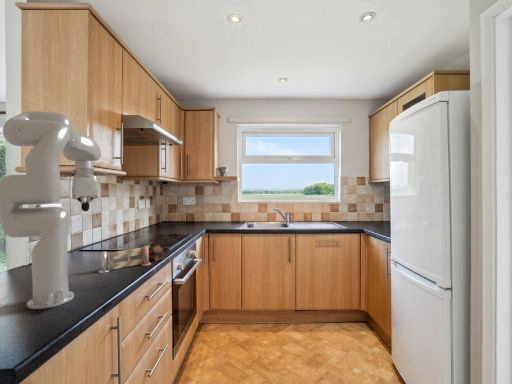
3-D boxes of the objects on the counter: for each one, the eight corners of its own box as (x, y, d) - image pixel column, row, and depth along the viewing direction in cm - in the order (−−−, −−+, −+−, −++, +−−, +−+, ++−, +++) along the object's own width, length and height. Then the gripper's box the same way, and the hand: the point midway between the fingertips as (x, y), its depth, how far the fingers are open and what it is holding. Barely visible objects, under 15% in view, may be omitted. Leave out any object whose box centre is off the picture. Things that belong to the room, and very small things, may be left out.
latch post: (152, 264, 134) (152, 246, 134) (143, 266, 131) (142, 247, 131) (148, 262, 137) (148, 245, 137) (139, 264, 134) (139, 246, 134)
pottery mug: (149, 264, 137) (144, 249, 139) (149, 267, 145) (144, 253, 147) (173, 254, 143) (167, 240, 145) (171, 258, 151) (166, 245, 153)
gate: (108, 270, 124) (108, 253, 124) (107, 269, 125) (107, 253, 125) (147, 262, 136) (147, 247, 136) (146, 261, 137) (146, 246, 137)
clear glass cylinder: (111, 271, 123) (110, 251, 123) (100, 273, 120) (99, 253, 120) (108, 269, 127) (107, 250, 127) (97, 271, 124) (97, 251, 123)
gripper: (67, 172, 122) (68, 212, 123) (104, 172, 133) (105, 210, 133) (64, 172, 128) (65, 211, 128) (99, 173, 138) (100, 209, 138)
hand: (85, 211), depth 131 cm, fingers closed
